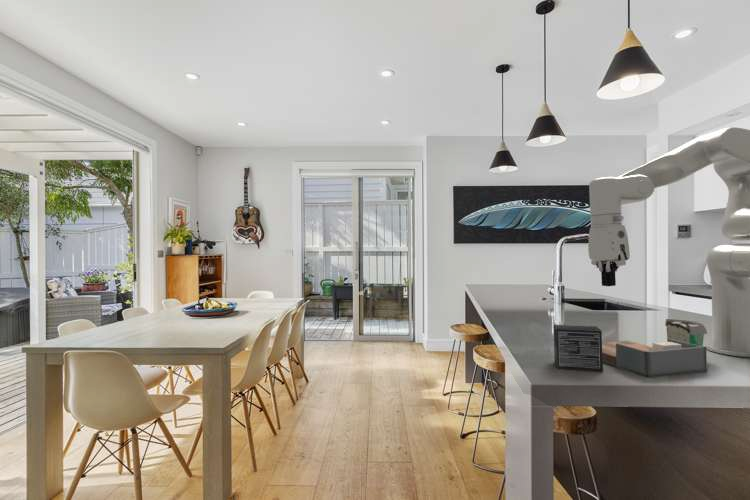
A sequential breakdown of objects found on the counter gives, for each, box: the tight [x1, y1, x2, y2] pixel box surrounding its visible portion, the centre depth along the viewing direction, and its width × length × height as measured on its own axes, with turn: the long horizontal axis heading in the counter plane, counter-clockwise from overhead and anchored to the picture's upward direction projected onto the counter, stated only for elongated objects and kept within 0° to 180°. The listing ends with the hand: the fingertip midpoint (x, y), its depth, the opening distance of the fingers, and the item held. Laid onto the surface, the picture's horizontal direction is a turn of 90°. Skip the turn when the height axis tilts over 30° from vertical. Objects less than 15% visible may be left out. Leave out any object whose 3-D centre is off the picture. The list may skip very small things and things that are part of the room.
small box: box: [553, 324, 604, 373], centre depth 97 cm, size 11×6×10 cm, turn 71°
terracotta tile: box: [626, 343, 650, 351], centre depth 96 cm, size 6×6×3 cm
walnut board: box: [602, 340, 653, 367], centre depth 106 cm, size 18×13×2 cm
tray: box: [615, 339, 708, 379], centre depth 95 cm, size 18×9×6 cm, turn 103°
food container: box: [664, 318, 708, 346], centre depth 103 cm, size 12×6×10 cm, turn 168°
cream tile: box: [651, 341, 682, 351], centre depth 96 cm, size 6×6×3 cm
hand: (608, 285), depth 106 cm, fingers closed
